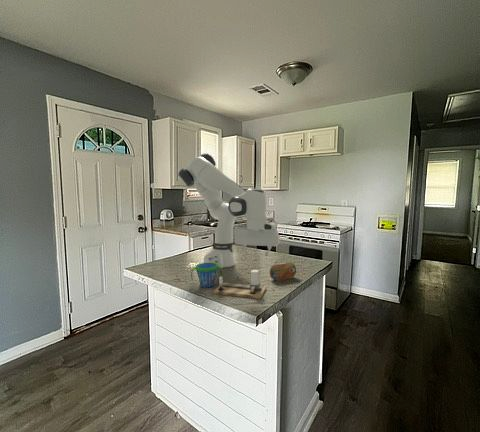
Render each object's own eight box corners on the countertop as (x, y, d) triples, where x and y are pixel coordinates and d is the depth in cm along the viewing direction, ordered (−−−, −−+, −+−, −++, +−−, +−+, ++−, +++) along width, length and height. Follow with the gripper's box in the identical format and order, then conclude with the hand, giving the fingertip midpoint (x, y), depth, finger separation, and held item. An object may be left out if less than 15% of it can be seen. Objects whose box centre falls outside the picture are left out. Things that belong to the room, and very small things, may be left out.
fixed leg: (218, 290, 122) (218, 277, 122) (220, 288, 124) (219, 276, 123) (222, 290, 122) (221, 278, 121) (223, 289, 123) (223, 276, 123)
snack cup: (190, 290, 126) (189, 268, 125) (192, 282, 137) (191, 263, 136) (223, 288, 128) (223, 267, 127) (222, 281, 138) (222, 261, 137)
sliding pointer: (247, 292, 118) (247, 273, 118) (252, 286, 125) (251, 269, 124) (256, 293, 117) (256, 274, 116) (260, 287, 124) (260, 270, 123)
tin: (271, 282, 136) (271, 265, 135) (268, 280, 139) (268, 264, 138) (296, 277, 142) (296, 262, 141) (293, 276, 145) (293, 260, 144)
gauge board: (212, 293, 122) (212, 289, 121) (222, 284, 133) (222, 280, 133) (260, 298, 115) (260, 294, 114) (266, 289, 126) (266, 285, 126)
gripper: (232, 225, 120) (232, 255, 121) (277, 226, 114) (277, 257, 115) (236, 223, 126) (237, 252, 127) (279, 224, 120) (280, 254, 121)
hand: (256, 255), depth 121 cm, fingers open, 8 cm apart
